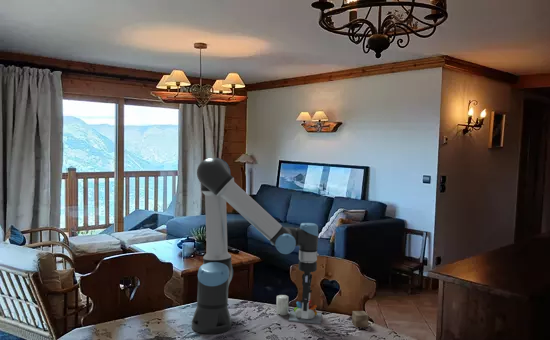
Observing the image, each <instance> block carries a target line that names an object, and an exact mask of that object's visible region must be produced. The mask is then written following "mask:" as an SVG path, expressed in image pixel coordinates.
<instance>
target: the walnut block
mask: <svg viewBox="0 0 550 340" xmlns="http://www.w3.org/2000/svg"><path fill="white" fill-rule="evenodd" d="M352 323H353V324H352ZM351 324H352V325H353V326H354V328H355V327H368V328H369V314H367V312H366V311H364V310H352V315H351Z"/></svg>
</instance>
